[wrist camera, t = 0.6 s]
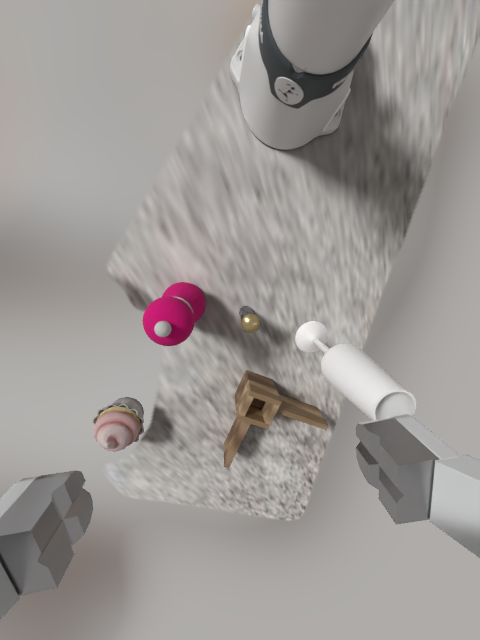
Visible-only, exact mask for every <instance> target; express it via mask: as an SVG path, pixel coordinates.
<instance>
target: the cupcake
mask: <svg viewBox="0 0 480 640" xmlns="http://www.w3.org/2000/svg"><path fill="white" fill-rule="evenodd" d="M143 414H144V411H143V407H142V405H141V404H140V403H139V402H138V401H137V400H136V399H133V398H129V397H125V398H120V399H118V400H116V401H115V402H114V403H112V404H110V405H108V406H107V407H105V408H102V409H100V410H98V416H97V417H95V418H94V419H93V423H94V424H95V426H94V436H95V439H96V441H97V442H98V443H99V444H100V446H101V447H103V448H104V449H106V450H108V451H114V452H115V451H119V450H121V449H124V448H125V447H126V446H128V445H130V444H131V443H133V442H137V441H138V440H139V435H140V434H142V433H143V432H144V429H143V422H144V420H143Z"/></svg>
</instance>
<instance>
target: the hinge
mask: <svg viewBox="0 0 480 640" xmlns="http://www.w3.org/2000/svg"><path fill="white" fill-rule="evenodd" d="M235 402H236V412H237V418H236V420H235V422H234V424H233V426H232V428H231V430H230V432H229V434H228V436H227V438H226V440H225V442H224V467H228V468H229V467H230V465H231V463H232V461H233V459H234V457H235V455H236V453H237V451H238V449H239V447H240V445H241V443H242V441H243V439H244V437H245V435H246V433H247V431H248V429H249V427H250V425H251V424H253V425H256V426H259V427H262V428H265V429H268V428H269V426H270V424H271V422H272V420H273V418H274V416H275V414H276V413H278V414H281V415H284V416H287V417H290V418H293V419H295V420H298V421H301V422H304V423H307V424H310V425H313V426H316V427H319V428H322V429H325V430H327V428H328V424H327V422H326V421H325V419H324V418H323V416H322V415H321V413H320V411H319V410H318V408H317V407H314V406H312V405H309V404H306V403H303V402H300V401H298V400H295V399H292V398H289V397H286V396H284V395H281V394H278V391H277V389H276V387H275V384H274V382H273V380H272V379H269V378H267V377H264V376H261V375H258V374H256V373H253V372H250V371H247V370H246V372H245V374H244V376H243V378H242V380H241V382H240V385H239V387H238V389H237V391H236V393H235Z"/></svg>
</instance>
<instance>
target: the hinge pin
mask: <svg viewBox="0 0 480 640" xmlns="http://www.w3.org/2000/svg"><path fill="white" fill-rule="evenodd" d="M239 314H240V317H241V326H242V328H243V330H244V331H245V332H248V333H253V332H256V331H257V330H258V329H259V327H260V320H259V318H258V317H257V316H256V315H254V313H253V312H252V310H251V308H250V307H248V306H243V307H242V308H241V309H240V311H239Z"/></svg>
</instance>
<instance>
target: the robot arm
mask: <svg viewBox="0 0 480 640" xmlns="http://www.w3.org/2000/svg"><path fill="white" fill-rule="evenodd" d="M393 2H394V0H262V4H261V6H260V5H258V4H256V5H255V7H254V9H253V12H252V17H251V18H252V20H253V22H252V24H251V25H248V27H247V30H246V34H245V37H244V39H243V41H242V42H241V44H240V46H239V48H238V49H237V51H236V53H235V55H234V56H233V58H232V60H231V64H230V74H231V77H232V79H233V81H234V83H235V85H236V86H237V88H238V91H239V95H240V101H241V107H242V111H243V115H244V118H245V120H246V122H247V124H248V126H249V128H250V129H251V131H252V132H253V133H254V135H255V136H256V137H257V138H258V139H259V140H261V141H262V142H263V143H265V144H266V145H268V146H271V147H273V148H276V149H282V150H289V149H295V148H298V147H301V146H303V145H305V144H306V143H308V142H309V141H311V140H312V139H314V138H315V137H317V136H320V135H327V134H330V133H333V132H334V131H335V130H336V129H337V128H338V126H339V124H340V121H341V117H342V113H343V109H344V106H345V102H346V98H347V97H348V95H349V93H350V91H351V89H350V84H351V81H352V77H353V73H354V69H355V67H356V66H357V64H358V63H359V61H360V60H361V58H362V56H363V53H364V51H365V50H366V48H367V46H368V44H369V42H370V39H371V37H372V34H373V31H374V30H375V28H376V27H377V25H378V24H379V22H380V21H381V19H382V18H383V16H384V15H385V13H386V12H387V10H388V9H389V8H390V6H391V5H392V3H393ZM240 59H241V61H240ZM334 116H335V117H334ZM356 435H357V437H358V438H359V439H360V443H359V444H358V446H357V447H356V453H357V460H358V463H359V467H360V469H361V471H362V473H363V475H364V477H365V478H366V480H367V481H368V483H369V484H371V485H372V486H374V487H375V488H377V489H379V499H380V501H381V503H382V504H383V506H384V507H385V508H386V510H387V512H388V513H389V515H390V516H391V518H392V519H393V521H394V522H395V523H396V524H402V523H408V522H415V521H422V520H428V519H430V522H431V523H432V524H434V525H435V526H437V527H438V528H439V529H441V530H442V531H443V532H445V533H446V534H448V535H449V536H450V537H452V538H453V539H454V540H456V541H457V542H459V543H460V544H461V545H463V546H464V547H465V548H467V549H468V550H469V551H471V552H472V553H474V554H475V555H476V556H478V557H479V558H480V460H479V459H476V458H474V457H471V456H469V455H463V456H461V455H459V454H458V453H457V452H456V451H454V450H453V449H452V448H451V447H450V446H448V445H447V444H446V443H445V442H443V441H442V440H441V439H440V438H439V437H437V436H436V435H435V434H434V433H432V432H431V431H430V430H429V429H427V428H426V427H425V426H424V425H423V424H421V423H420V422H419V421H418V420H416V419H415V418H414V417H413V416H410V415H408V414H406V415H400V416H395V417H390V418H386V419H380V420H374V421H369V422H363V423H358V424H357V427H356ZM84 483H85V479H84V476H83V474H82V472H80V471H70V472H64V473H56V474H49V475H43V476H39V477H31V478H24V479H22V480H20V481H18V482H16V483H15V484H14V485H13V486H12V487H11V488H10V489H9V490H8V491H7V492H6V493H5V494H4V495H3V497H2V498H1V499H0V620H1V619H2V617H4V615H5V614H6V613H7V612H8V611H9V610H10V609H11V607H12V606H13V605H14V604H15V603H16V602H17V601H18V600H19V596H22V595H27V594H31V593H35V592H40V591H45V590H49V589H54V588H58V586H59V584H60V582H61V579H62V577H63V576H64V574H65V572H66V570H67V568H68V566H69V564H70V562H71V560H72V558H73V555H74V547H73V545H74V544H75V543H76V542H77V541H78V540H79V539H80V538H81V537H82V536H83V535H84V534H85V532H86V529H87V527H88V525H89V523H90V520H91V515H92V511H93V504H92V503H93V502H92V498H91V495H90V493H89V492H87V491H86V490H85V489H83V488H82V487H83V485H84Z"/></svg>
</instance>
